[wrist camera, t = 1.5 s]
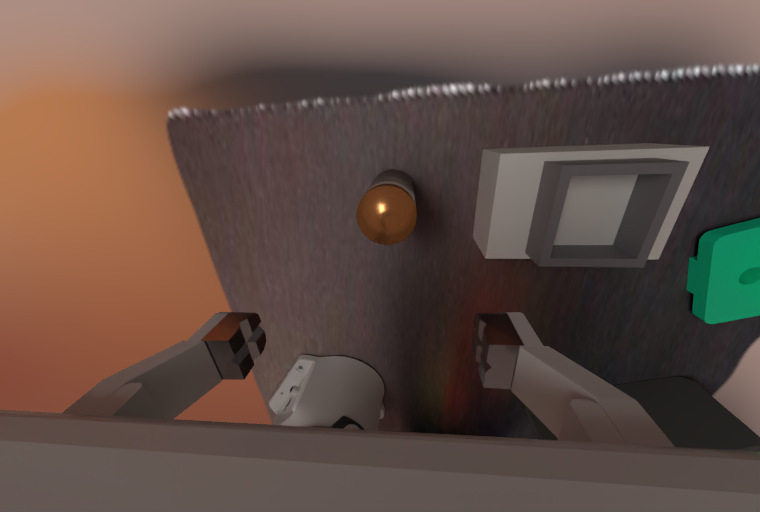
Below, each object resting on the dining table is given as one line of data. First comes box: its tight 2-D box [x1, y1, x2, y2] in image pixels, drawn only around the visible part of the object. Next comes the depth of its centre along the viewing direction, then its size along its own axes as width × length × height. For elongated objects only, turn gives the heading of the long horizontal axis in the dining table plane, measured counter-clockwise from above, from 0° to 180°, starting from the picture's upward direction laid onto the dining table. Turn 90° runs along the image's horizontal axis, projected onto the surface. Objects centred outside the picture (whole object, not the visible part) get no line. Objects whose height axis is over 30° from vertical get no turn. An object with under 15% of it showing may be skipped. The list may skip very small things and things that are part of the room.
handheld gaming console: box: [525, 377, 760, 452], centre depth 37 cm, size 23×3×10 cm, turn 111°
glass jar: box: [357, 169, 417, 245], centre depth 27 cm, size 5×5×10 cm
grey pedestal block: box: [473, 143, 709, 267], centre depth 26 cm, size 16×10×9 cm, turn 92°
